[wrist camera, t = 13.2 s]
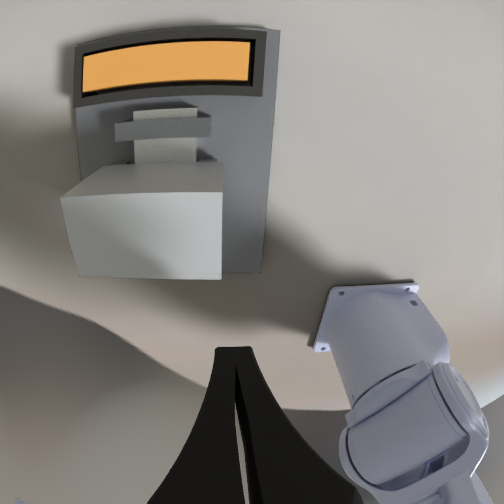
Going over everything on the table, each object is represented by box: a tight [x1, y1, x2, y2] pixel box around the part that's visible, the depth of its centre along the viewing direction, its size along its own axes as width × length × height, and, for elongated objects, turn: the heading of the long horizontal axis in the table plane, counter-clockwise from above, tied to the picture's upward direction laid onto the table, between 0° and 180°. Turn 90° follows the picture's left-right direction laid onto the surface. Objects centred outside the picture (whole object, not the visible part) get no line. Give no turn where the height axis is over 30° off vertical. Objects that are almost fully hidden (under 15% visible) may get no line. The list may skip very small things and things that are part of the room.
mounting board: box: [76, 26, 280, 273], centre depth 16 cm, size 12×16×1 cm
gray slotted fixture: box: [74, 29, 267, 164], centre depth 14 cm, size 10×14×2 cm
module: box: [60, 159, 223, 280], centre depth 14 cm, size 7×4×6 cm, turn 86°
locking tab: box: [83, 41, 250, 92], centre depth 11 cm, size 8×2×2 cm, turn 86°
